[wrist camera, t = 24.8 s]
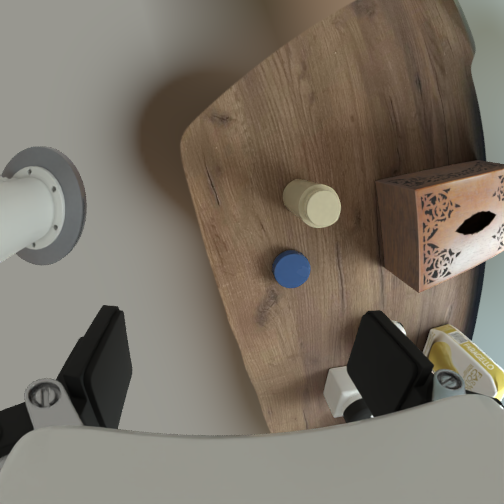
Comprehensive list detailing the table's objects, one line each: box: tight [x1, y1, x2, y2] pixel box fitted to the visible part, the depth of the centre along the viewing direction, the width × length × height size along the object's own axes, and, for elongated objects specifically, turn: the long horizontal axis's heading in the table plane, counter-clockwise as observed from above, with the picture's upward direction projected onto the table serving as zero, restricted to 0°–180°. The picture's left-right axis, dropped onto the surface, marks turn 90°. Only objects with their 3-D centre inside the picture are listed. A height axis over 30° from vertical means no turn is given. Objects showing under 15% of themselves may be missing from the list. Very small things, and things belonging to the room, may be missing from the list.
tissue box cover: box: [375, 160, 504, 293], centre depth 38 cm, size 26×14×10 cm, turn 105°
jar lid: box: [272, 250, 310, 288], centre depth 42 cm, size 5×5×2 cm
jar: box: [283, 179, 341, 228], centre depth 35 cm, size 5×5×9 cm
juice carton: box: [423, 324, 504, 401], centre depth 41 cm, size 9×8×24 cm
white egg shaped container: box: [391, 320, 406, 335], centre depth 45 cm, size 10×7×7 cm
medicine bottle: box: [323, 366, 374, 423], centre depth 46 cm, size 7×7×12 cm
